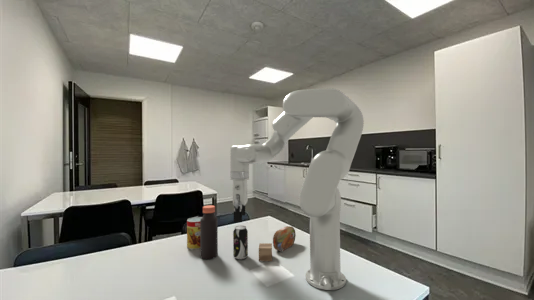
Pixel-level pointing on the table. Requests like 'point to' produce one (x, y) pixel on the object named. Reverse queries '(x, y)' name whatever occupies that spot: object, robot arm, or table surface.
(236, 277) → the table surface
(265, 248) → the tan cube
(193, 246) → the canned food
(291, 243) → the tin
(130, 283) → the table surface
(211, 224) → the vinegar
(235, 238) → the beverage can
